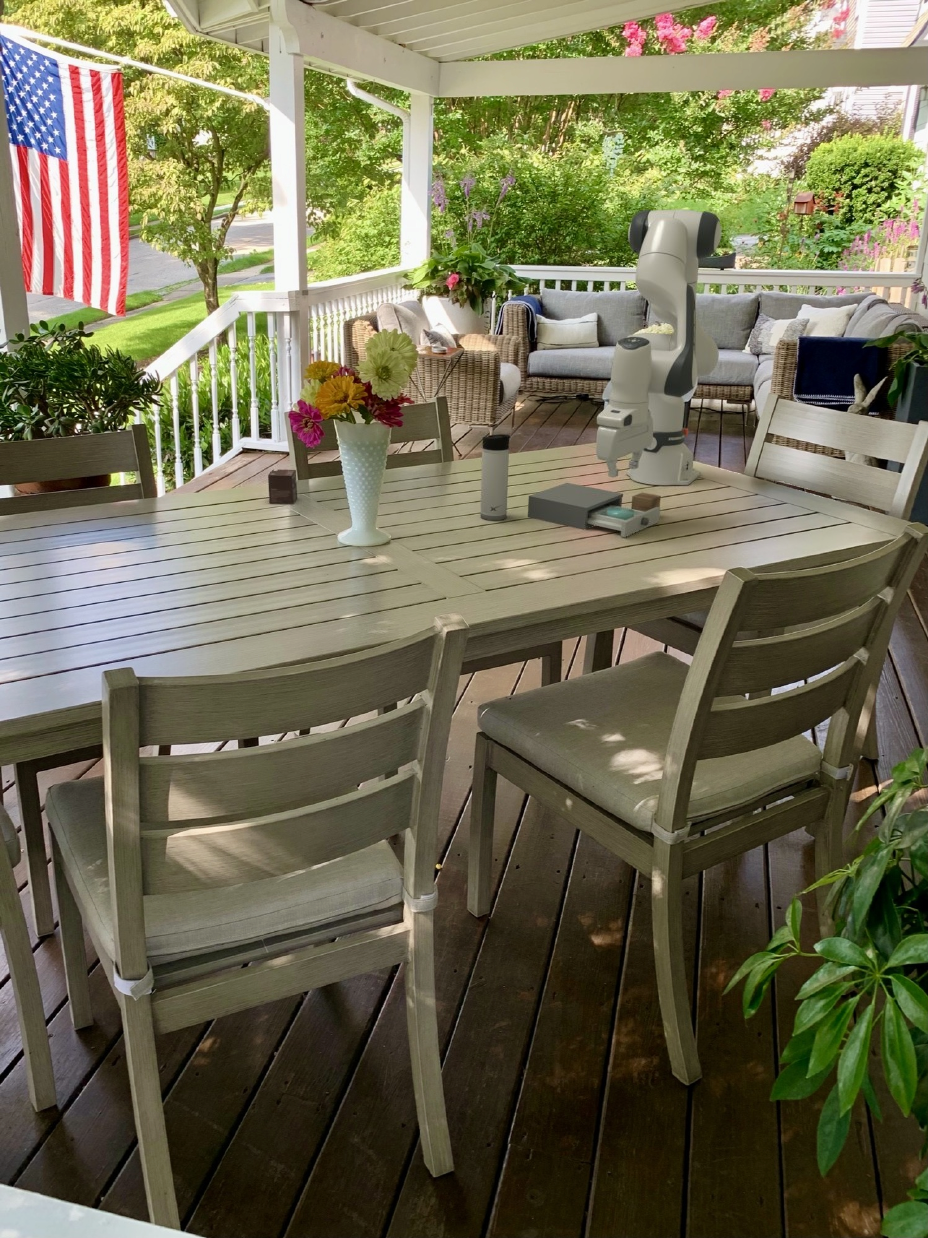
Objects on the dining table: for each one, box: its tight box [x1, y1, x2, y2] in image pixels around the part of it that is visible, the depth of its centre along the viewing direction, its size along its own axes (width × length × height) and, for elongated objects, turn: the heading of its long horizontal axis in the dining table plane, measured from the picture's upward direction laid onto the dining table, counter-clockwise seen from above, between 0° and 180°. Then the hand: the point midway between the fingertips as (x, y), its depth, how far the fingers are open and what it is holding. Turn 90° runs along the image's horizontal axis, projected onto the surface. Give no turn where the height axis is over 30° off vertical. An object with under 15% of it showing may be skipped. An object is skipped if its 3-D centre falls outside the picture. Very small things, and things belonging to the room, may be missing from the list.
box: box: [267, 469, 298, 505], centre depth 251 cm, size 6×6×7 cm
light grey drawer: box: [587, 505, 661, 538], centre depth 238 cm, size 17×17×4 cm
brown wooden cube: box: [630, 492, 662, 512], centre depth 245 cm, size 5×5×5 cm
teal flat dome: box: [606, 506, 634, 520], centre depth 237 cm, size 6×6×2 cm
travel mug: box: [479, 433, 511, 521], centre depth 239 cm, size 6×7×20 cm
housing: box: [527, 482, 624, 530], centre depth 244 cm, size 17×16×5 cm
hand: (623, 472), depth 234 cm, fingers open, 8 cm apart
